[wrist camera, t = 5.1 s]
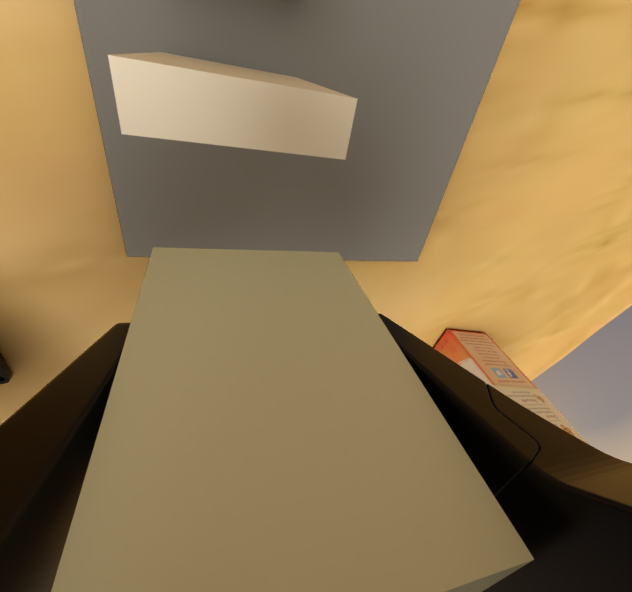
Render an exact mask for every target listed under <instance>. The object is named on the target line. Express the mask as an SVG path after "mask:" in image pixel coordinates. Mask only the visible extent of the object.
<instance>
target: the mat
mask: <svg viewBox="0 0 632 592" xmlns="http://www.w3.org/2000/svg"><path fill="white" fill-rule="evenodd" d="M519 2H520V0H74V5H75V9H76V14H77V19H78V24H79V29H80V33H81V38H82V43H83V48H84V53H85V57H86V62H87V67H88V72H89V77H90V81H91V86H92V91H93V96H94V101H95V106H96V110H97V115H98V120H99V125H100V130H101V134H102V139H103V144H104V149H105V154H106V158H107V163H108V168H109V173H110V178H111V182H112V187H113V192H114V197H115V202H116V206H117V211H118V216H119V221H120V226H121V230H122V235H123V240H124V245H125V250H126V255H127V257H150V256H151V253H152V249H153V247H161V248H198V249H235V250H272V251H309V252H339V254H340V256H341V257H342V259H343V260H357V261H415V262H417V261H418V259H419V256H420V254H421V251H422V248H423V246H424V243H425V241H426V238H427V236H428V233H429V231H430V228H431V226H432V223H433V221H434V218H435V215H436V213H437V210H438V208H439V205H440V203H441V200H442V198H443V195H444V193H445V190H446V188H447V185H448V183H449V180H450V177H451V175H452V172H453V170H454V167H455V165H456V162H457V160H458V157H459V155H460V152H461V150H462V147H463V144H464V142H465V139H466V137H467V134H468V132H469V129H470V127H471V124H472V122H473V119H474V117H475V114H476V111H477V109H478V106H479V104H480V101H481V99H482V96H483V94H484V91H485V89H486V86H487V84H488V81H489V79H490V76H491V73H492V71H493V68H494V66H495V63H496V61H497V58H498V56H499V53H500V51H501V48H502V46H503V43H504V40H505V38H506V35H507V33H508V30H509V28H510V25H511V23H512V20H513V18H514V15H515V13H516V10H517V7H518V5H519ZM152 52H164V53H169V54H175V55H180V56H185V57H191V58H196V59H201V60H207V61H212V62H218V63H223V64H228V65H234V66H239V67H244V68H250V69H255V70H260V71H266V72H271V73H277V74H282V75H287V76H293V77H297V78H300V79H302V80H305V81H308V82H311V83H314V84H317V85H320V86H323V87H325V88H328V89H331V90H334V91H337V92H340V93H343V94H345V95H348V96H351V97H354V98H357V99H358V100H357V105H356V110H355V115H354V119H353V124H352V129H351V134H350V139H349V144H348V149H347V154H346V159H345V160H343V159H334V158H325V157H317V156H308V155H299V154H290V153H282V152H273V151H264V150H256V149H247V148H238V147H230V146H221V145H212V144H203V143H195V142H186V141H177V140H169V139H160V138H151V137H142V136H134V135H125V134H122V133H121V128H120V122H119V116H118V111H117V105H116V99H115V93H114V88H113V82H112V76H111V71H110V65H109V59H108V55H112V54H132V53H152Z"/></svg>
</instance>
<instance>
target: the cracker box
mask: <svg viewBox="0 0 632 592" xmlns="http://www.w3.org/2000/svg"><path fill="white" fill-rule="evenodd" d="M434 349H436V350H437V351H439V352H440V353H442V354H443V355H445V356H446V357H448V358H449V359H451V360H452V361H454V362H456V363H457V364H459V365H460V366H462V367H463V368H465V369H466V370H468V371H469V372H471V373H472V374H474V375H475V376H477V377H478V378H480V379H481V380H483V381H484V382H485V383H486V384H489V385H491V386H492V387H494V388H495V389H497V390H498V391H500V392H501V393H503V394H504V395H506V396H508V397H509V398H511V399H512V400H514V401H516V402H517V403H519V404H520V405H522V406H524V407H525V408H527V409H529V410H530V411H532V412H534V413H535V414H537V415H539V416H540V417H542V418H544V419H546V420H547V421H549V422H551V423H553V424H554V425H556V426H558V427H559V428H561V429H563V430H565V431H566V432H568V433H570V434H572V435H573V436H575V437H577V438H578V439H580V440H582V441H584V442H585V443H587V441H586V440H585V439H584V438H583V437H582V436H581V435H580V434H579V433H578V432H577V431H576V430H575V429H574V427H572V425H571V424H570V423H569V422H568V421H567V420H566V419H565V418H564V417H563V416H562V415H561V413H560V412H559V411H558V410H557V409H556V408H555V407H554V406H553V405H552V404H551V403H550V402H549V401H548V400H547V398H546V397H545V396H544V395H543V394H542V393H541V392H540V391H539V390H538V389H537V388H536V387H535V385H534V384H533V383H532V382H531V381H530V380H529V379H528V378H527V377H526V376H525V375H524V374H523V373H522V372H521V370H520V369H519V368H518V367H517V366H516V365H515V364H514V363H513V362H512V361H511V360H510V358H509V357H508V356H507V355H506V354H505V353H504V352H503V351H502V350H501V349H500V348H499V347H498V346H497V345H496V343H495V342H494V341H493V340H492V339H491V338H490V337H489V336H488V335H487V334H485V333H476V332H467V331H457V330H449V329H447V330H446V332H445V333H444V335H443V336H442V338H441V339H440V340H439V342H438V343H437V344H436V346H435V347H434ZM587 444H588V443H587Z"/></svg>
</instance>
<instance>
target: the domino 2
mask: <svg viewBox="0 0 632 592" xmlns="http://www.w3.org/2000/svg"><path fill="white" fill-rule="evenodd" d="M532 560H534V558H533V556H532V555H531V553H530V552H529V550H528V549H527V547H526V545H525V544H524V542H523V541H522V539H521V538H520V536H519V534H518V533H517V531H516V530H515V528H514V527H513V525H512V523H511V522H510V520H509V519H508V517H507V516H506V514H505V512H504V511H503V509H502V508H501V506H500V505H499V503H498V502H497V500H496V498H495V497H494V495H493V494H492V492H491V491H490V489H489V487H488V486H487V484H486V483H485V481H484V480H483V478H482V476H481V475H480V473H479V472H478V470H477V469H476V467H475V465H474V464H473V462H472V461H471V459H470V458H469V456H468V455H467V453H466V451H465V450H464V448H463V447H462V445H461V444H460V442H459V440H458V439H457V437H456V436H455V434H454V433H453V431H452V429H451V428H450V426H449V425H448V423H447V422H446V420H445V418H444V417H443V415H442V414H441V412H440V411H439V409H438V408H437V406H436V404H435V403H434V401H433V400H432V398H431V397H430V395H429V393H428V392H427V390H426V389H425V387H424V386H423V384H422V382H421V381H420V379H419V378H418V376H417V375H416V373H415V371H414V370H413V368H412V367H411V365H410V364H409V362H408V361H407V359H406V357H405V356H404V354H403V353H402V351H401V350H400V348H399V346H398V345H397V343H396V342H395V340H394V339H393V337H392V335H391V334H390V332H389V331H388V329H387V328H386V326H385V324H384V323H383V321H382V320H381V318H380V317H379V315H378V314H377V312H376V310H375V309H374V307H373V306H372V304H371V303H370V301H369V299H368V298H367V296H366V295H365V293H364V292H363V290H362V288H361V287H360V285H359V284H358V282H357V281H356V279H355V278H354V276H353V274H352V273H351V271H350V270H349V268H348V267H347V265H346V263H345V262H344V260H343V259H342V257H341V256H340V254H339V252H309V251H272V250H235V249H198V248H161V247H153V249H152V253H151V256H150V259H149V263H148V266H147V269H146V273H145V276H144V280H143V283H142V286H141V290H140V293H139V296H138V300H137V303H136V307H135V310H134V313H133V317H132V320H131V323H130V327H129V330H128V334H127V337H126V340H125V344H124V347H123V350H122V354H121V357H120V361H119V364H118V367H117V371H116V374H115V377H114V381H113V384H112V388H111V391H110V394H109V398H108V401H107V404H106V408H105V411H104V415H103V418H102V421H101V425H100V428H99V431H98V435H97V438H96V442H95V445H94V448H93V452H92V455H91V458H90V462H89V465H88V469H87V472H86V475H85V479H84V482H83V485H82V489H81V492H80V496H79V499H78V502H77V506H76V509H75V513H74V516H73V519H72V523H71V526H70V529H69V533H68V536H67V540H66V543H65V546H64V550H63V553H62V556H61V560H60V563H59V567H58V570H57V573H56V577H55V580H54V583H53V587H52V590H51V592H482V591H484V590H486V589H487V588H489V587H490V586H492V585H494V584H495V583H497V582H498V581H500V580H502V579H503V578H505V577H507V576H508V575H510V574H511V573H513V572H515V571H516V570H518V569H520V568H521V567H523V566H524V565H526V564H528V563H529V562H531V561H532Z"/></svg>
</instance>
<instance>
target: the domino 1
mask: <svg viewBox="0 0 632 592" xmlns="http://www.w3.org/2000/svg"><path fill="white" fill-rule="evenodd" d="M108 59H109V65H110V71H111V76H112V82H113V88H114V93H115V99H116V105H117V111H118V116H119V122H120V128H121V133H122V134H125V135H134V136H142V137H151V138H160V139H169V140H177V141H186V142H195V143H203V144H212V145H221V146H230V147H238V148H247V149H256V150H264V151H273V152H282V153H290V154H299V155H308V156H317V157H325V158H334V159H343V160H345V159H346V154H347V149H348V144H349V139H350V134H351V129H352V124H353V119H354V115H355V110H356V105H357V100H358V99H357V98H354V97H351V96H348V95H345V94H343V93H340V92H337V91H334V90H331V89H328V88H325V87H323V86H320V85H317V84H314V83H311V82H308V81H305V80H302V79H300V78H297V77H293V76H287V75H282V74H277V73H271V72H266V71H260V70H255V69H250V68H244V67H239V66H234V65H228V64H223V63H218V62H212V61H207V60H201V59H196V58H191V57H185V56H180V55H175V54H169V53H164V52H152V53H132V54H112V55H108Z"/></svg>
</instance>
